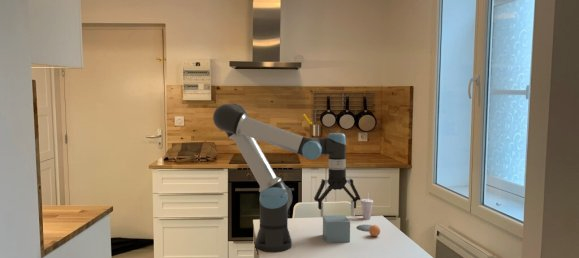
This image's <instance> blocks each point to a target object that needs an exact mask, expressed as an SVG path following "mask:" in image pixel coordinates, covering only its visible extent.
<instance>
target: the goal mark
mask: <svg viewBox="0 0 579 258" xmlns="http://www.w3.org/2000/svg"><path fill="white" fill-rule="evenodd" d="M372 225H373V224H359V225H357V226H356V229H357V230H359V231H363V232H369V228H370V227H371V226H372Z"/></svg>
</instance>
